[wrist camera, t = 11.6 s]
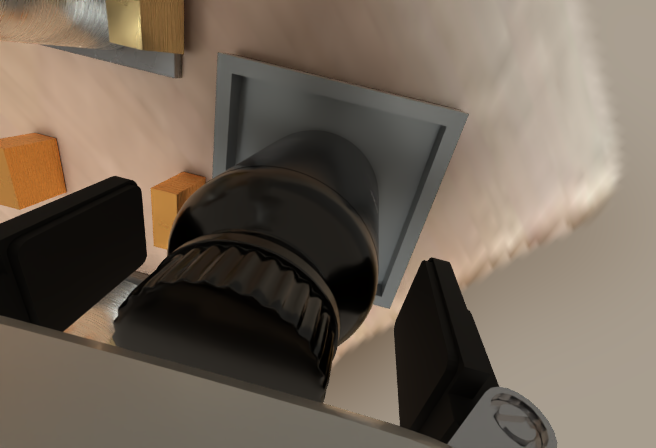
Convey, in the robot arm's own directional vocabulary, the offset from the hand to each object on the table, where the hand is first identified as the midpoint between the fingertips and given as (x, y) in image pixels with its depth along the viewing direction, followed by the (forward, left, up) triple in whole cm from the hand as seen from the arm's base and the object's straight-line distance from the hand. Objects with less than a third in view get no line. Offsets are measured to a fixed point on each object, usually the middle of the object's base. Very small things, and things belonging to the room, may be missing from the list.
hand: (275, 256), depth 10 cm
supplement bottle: (0, 0, -8) cm, 8 cm away
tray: (0, 0, -8) cm, 8 cm away
